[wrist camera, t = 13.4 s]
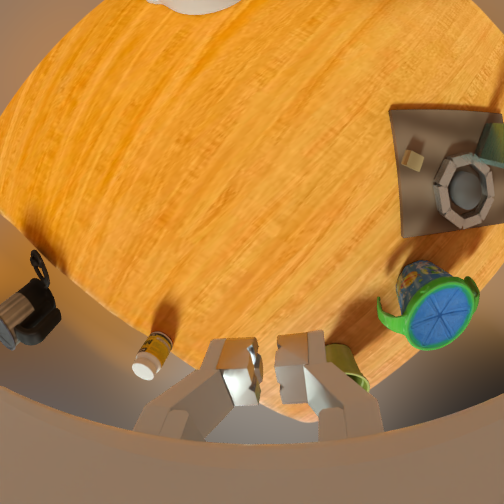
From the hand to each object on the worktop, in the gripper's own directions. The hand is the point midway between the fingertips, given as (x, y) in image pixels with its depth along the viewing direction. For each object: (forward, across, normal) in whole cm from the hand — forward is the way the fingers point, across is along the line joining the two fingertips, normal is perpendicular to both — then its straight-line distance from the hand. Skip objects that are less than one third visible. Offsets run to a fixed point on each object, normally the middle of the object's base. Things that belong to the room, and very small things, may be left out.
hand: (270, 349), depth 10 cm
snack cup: (+29, -18, +16) cm, 38 cm away
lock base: (+29, -25, 0) cm, 38 cm away
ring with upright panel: (+28, -26, 0) cm, 38 cm away
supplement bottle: (+29, +26, +22) cm, 45 cm away
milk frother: (+29, +52, +8) cm, 60 cm away
